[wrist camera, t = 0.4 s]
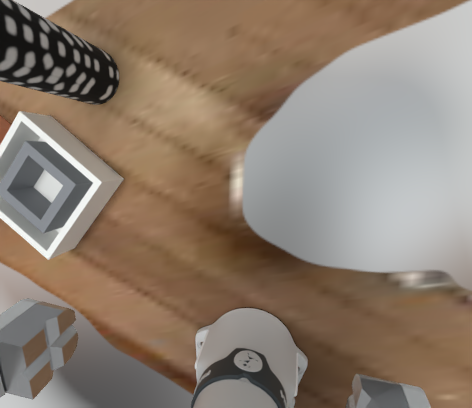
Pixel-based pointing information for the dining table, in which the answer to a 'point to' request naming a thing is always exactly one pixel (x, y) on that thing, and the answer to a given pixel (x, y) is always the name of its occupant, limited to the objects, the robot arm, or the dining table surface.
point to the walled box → (51, 184)
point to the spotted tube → (52, 58)
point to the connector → (3, 128)
